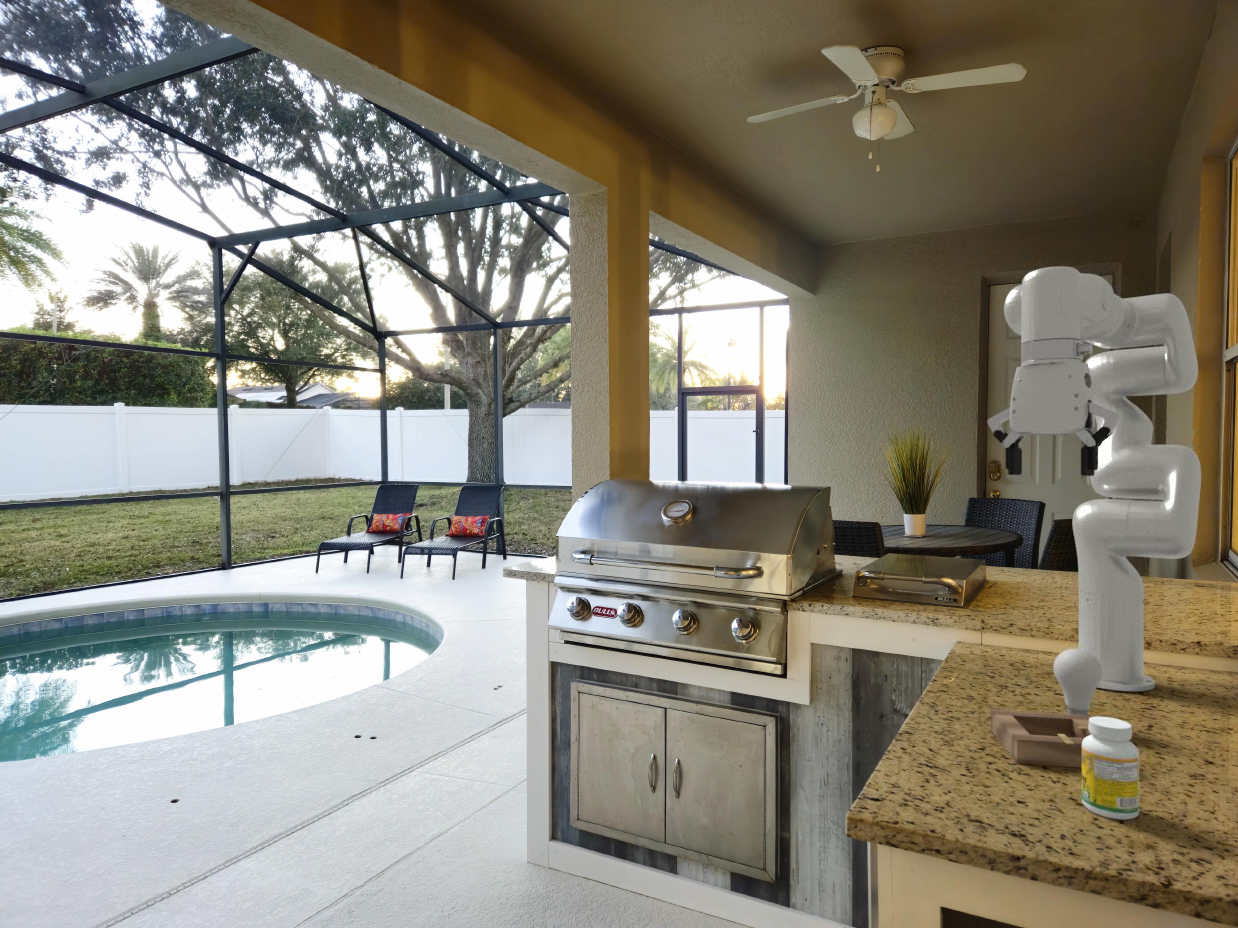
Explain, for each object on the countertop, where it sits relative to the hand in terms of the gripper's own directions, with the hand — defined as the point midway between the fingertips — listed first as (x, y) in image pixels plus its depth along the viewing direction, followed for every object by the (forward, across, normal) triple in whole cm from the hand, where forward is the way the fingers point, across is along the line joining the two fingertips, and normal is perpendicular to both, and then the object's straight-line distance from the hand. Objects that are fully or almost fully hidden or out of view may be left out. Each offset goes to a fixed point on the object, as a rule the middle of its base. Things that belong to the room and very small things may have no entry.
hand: (1050, 475), depth 110 cm
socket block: (+36, -3, +8) cm, 37 cm away
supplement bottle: (+37, -14, +22) cm, 45 cm away
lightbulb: (+36, -2, -5) cm, 37 cm away
